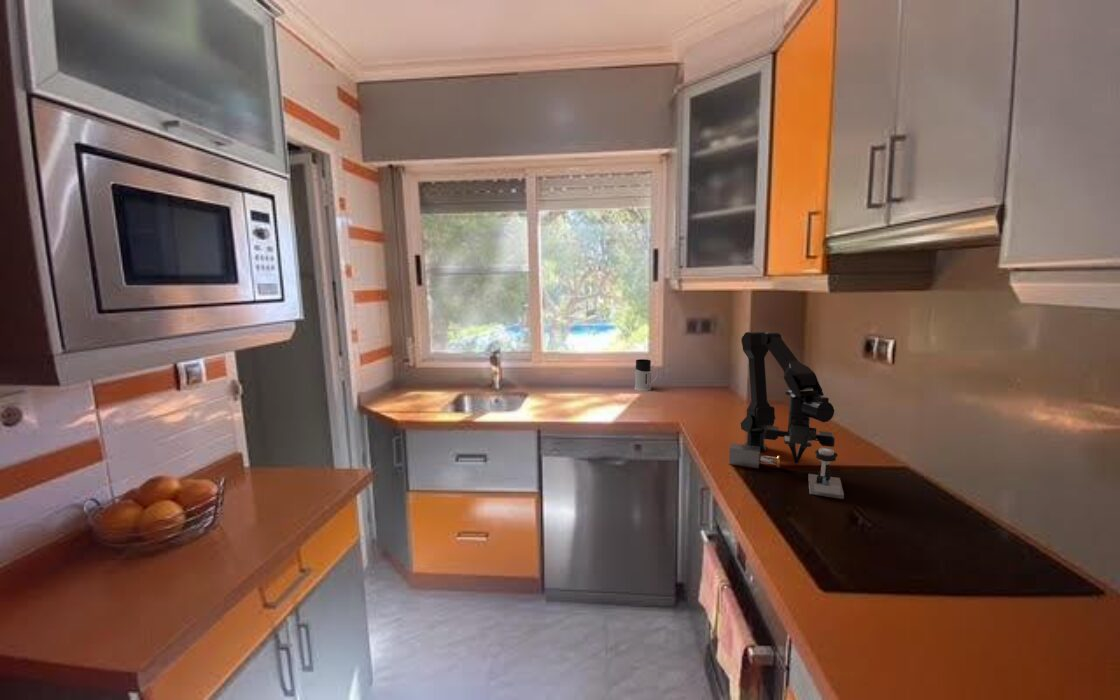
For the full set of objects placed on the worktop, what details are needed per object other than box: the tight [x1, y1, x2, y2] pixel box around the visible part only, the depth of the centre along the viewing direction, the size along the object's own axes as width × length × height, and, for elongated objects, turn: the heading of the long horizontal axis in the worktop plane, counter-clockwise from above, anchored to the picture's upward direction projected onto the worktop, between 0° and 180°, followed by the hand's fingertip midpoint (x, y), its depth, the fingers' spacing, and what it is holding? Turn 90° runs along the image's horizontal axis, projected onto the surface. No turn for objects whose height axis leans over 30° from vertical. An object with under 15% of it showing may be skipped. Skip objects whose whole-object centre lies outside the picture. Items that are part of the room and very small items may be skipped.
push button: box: [814, 446, 838, 485], centre depth 138 cm, size 7×5×10 cm
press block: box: [728, 443, 761, 469], centre depth 157 cm, size 5×8×5 cm, turn 66°
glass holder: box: [633, 358, 660, 392], centre depth 258 cm, size 9×14×15 cm, turn 40°
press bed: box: [807, 473, 845, 500], centre depth 138 cm, size 12×8×3 cm, turn 156°
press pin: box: [759, 454, 781, 468], centre depth 155 cm, size 3×9×3 cm, turn 66°
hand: (796, 463), depth 151 cm, fingers closed
